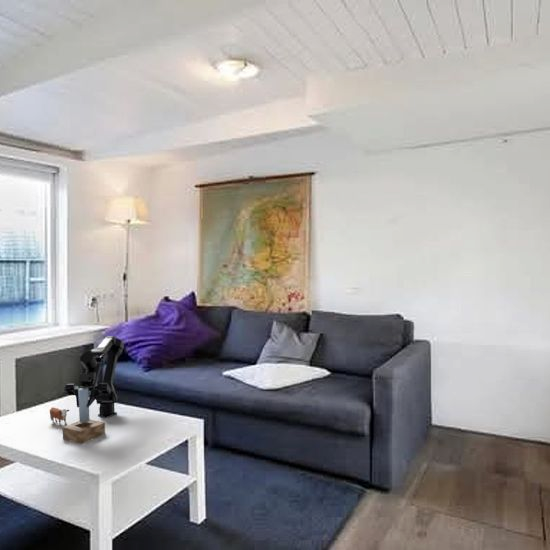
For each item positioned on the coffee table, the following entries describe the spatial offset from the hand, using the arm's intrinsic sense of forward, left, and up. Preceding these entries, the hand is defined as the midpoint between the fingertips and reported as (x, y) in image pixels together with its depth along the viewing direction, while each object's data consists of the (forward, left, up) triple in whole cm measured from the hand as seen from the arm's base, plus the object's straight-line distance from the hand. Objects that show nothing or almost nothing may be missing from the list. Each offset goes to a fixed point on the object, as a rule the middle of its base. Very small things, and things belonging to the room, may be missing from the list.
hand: (82, 407), depth 197 cm
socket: (-1, -1, -13) cm, 13 cm away
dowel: (-1, -1, -7) cm, 7 cm away
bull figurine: (-6, -24, -14) cm, 28 cm away
